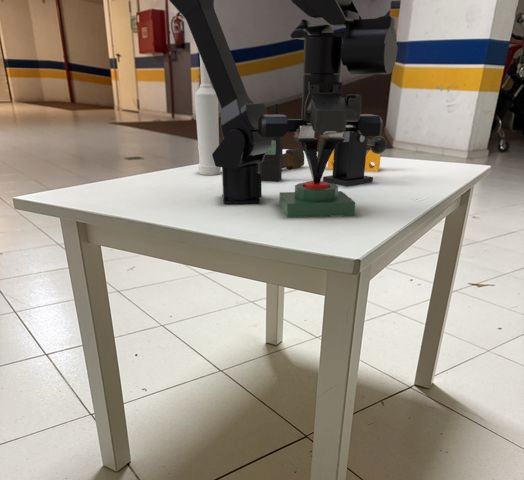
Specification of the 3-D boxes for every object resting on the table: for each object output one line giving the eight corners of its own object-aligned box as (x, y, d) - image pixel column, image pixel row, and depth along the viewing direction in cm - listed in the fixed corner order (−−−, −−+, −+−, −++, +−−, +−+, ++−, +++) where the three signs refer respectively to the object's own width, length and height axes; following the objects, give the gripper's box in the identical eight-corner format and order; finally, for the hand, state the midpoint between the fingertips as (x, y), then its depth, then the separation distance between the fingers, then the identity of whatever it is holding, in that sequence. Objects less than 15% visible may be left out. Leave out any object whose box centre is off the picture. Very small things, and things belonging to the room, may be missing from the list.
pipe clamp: (379, 169, 121) (382, 140, 118) (377, 171, 118) (380, 142, 114) (330, 166, 124) (332, 139, 121) (327, 169, 121) (329, 140, 117)
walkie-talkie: (258, 181, 106) (258, 103, 99) (262, 178, 109) (262, 103, 102) (280, 182, 105) (281, 104, 98) (283, 179, 108) (285, 103, 101)
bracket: (348, 178, 110) (352, 125, 105) (372, 183, 105) (378, 127, 100) (322, 182, 106) (325, 127, 101) (346, 187, 101) (351, 129, 96)
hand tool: (257, 177, 111) (257, 155, 109) (245, 174, 114) (245, 153, 112) (312, 168, 123) (313, 148, 121) (300, 166, 125) (300, 146, 123)
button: (306, 196, 80) (307, 185, 79) (302, 191, 84) (302, 181, 83) (330, 196, 81) (331, 185, 80) (325, 191, 84) (325, 180, 83)
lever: (374, 154, 110) (379, 137, 109) (387, 156, 107) (392, 138, 106) (338, 144, 102) (342, 125, 101) (351, 146, 100) (355, 126, 98)
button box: (287, 217, 79) (287, 192, 77) (279, 205, 87) (279, 181, 85) (354, 216, 80) (356, 190, 78) (340, 203, 88) (342, 180, 86)
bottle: (222, 171, 118) (218, 48, 106) (218, 175, 113) (213, 47, 101) (201, 171, 118) (194, 48, 106) (196, 175, 114) (189, 47, 102)
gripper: (266, 73, 66) (265, 194, 73) (401, 74, 68) (387, 191, 75) (257, 74, 76) (258, 180, 83) (376, 74, 77) (366, 178, 85)
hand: (316, 182), depth 81 cm, fingers closed, pressing on button
